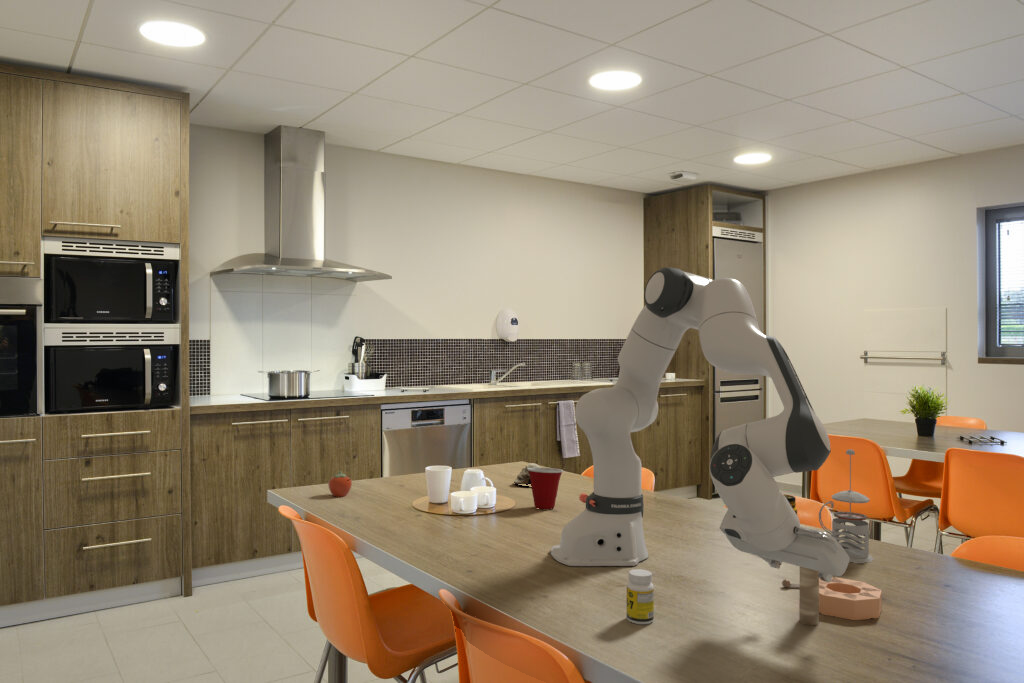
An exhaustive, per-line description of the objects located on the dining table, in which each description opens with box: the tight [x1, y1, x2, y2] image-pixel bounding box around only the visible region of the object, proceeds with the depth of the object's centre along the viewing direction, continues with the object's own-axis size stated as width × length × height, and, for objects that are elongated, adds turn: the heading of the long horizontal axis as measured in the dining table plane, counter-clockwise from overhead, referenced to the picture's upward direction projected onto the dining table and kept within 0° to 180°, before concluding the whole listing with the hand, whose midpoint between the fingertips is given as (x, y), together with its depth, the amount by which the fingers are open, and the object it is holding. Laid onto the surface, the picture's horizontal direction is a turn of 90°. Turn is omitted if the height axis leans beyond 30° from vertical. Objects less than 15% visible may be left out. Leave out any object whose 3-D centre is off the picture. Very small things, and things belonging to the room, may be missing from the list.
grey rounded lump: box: [513, 462, 541, 485], centre depth 254 cm, size 12×10×10 cm
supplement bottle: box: [626, 568, 655, 625], centre depth 128 cm, size 5×5×8 cm
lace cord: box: [781, 578, 800, 589], centre depth 146 cm, size 18×2×2 cm, turn 88°
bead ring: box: [819, 576, 883, 621], centre depth 135 cm, size 12×12×4 cm
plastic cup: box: [527, 466, 564, 510], centre depth 217 cm, size 11×11×12 cm
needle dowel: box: [798, 566, 820, 626], centre depth 128 cm, size 3×3×13 cm
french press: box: [818, 448, 874, 564], centre depth 169 cm, size 10×12×25 cm
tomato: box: [328, 470, 353, 498], centre depth 233 cm, size 7×7×8 cm
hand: (801, 571), depth 126 cm, fingers open, 8 cm apart
